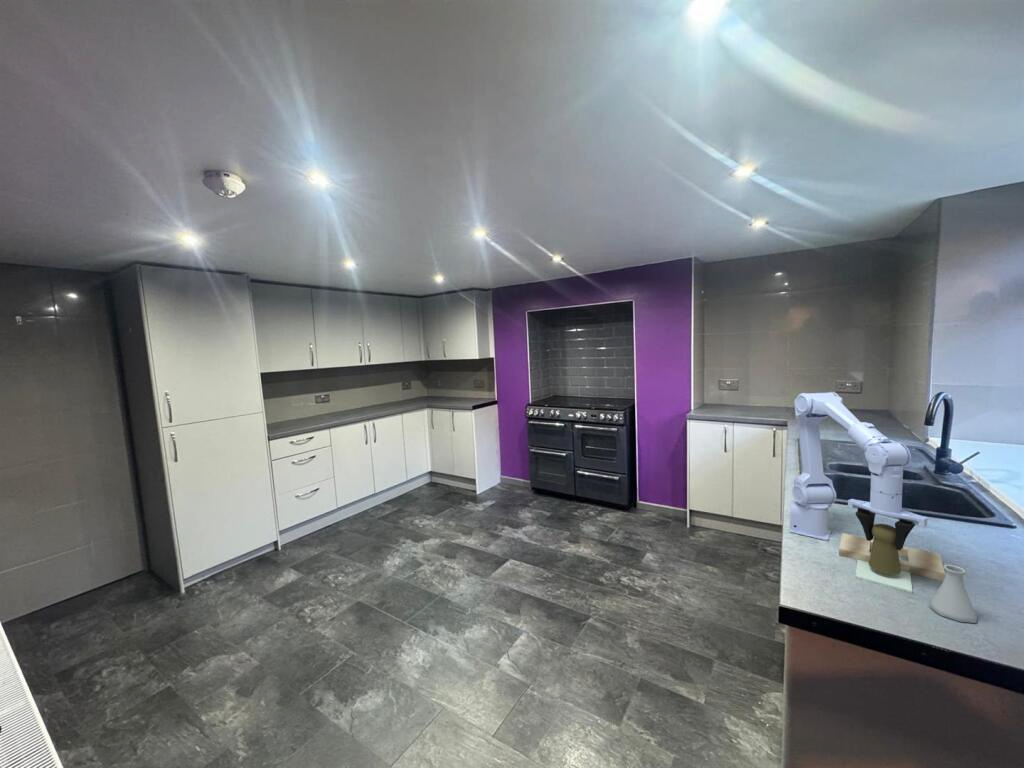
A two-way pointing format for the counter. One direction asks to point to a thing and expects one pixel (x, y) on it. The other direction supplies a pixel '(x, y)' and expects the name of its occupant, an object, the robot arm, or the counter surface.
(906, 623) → the counter surface
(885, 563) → the cork
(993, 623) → the counter surface
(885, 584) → the rubber mat
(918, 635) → the counter surface
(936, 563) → the socket board
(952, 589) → the flask
